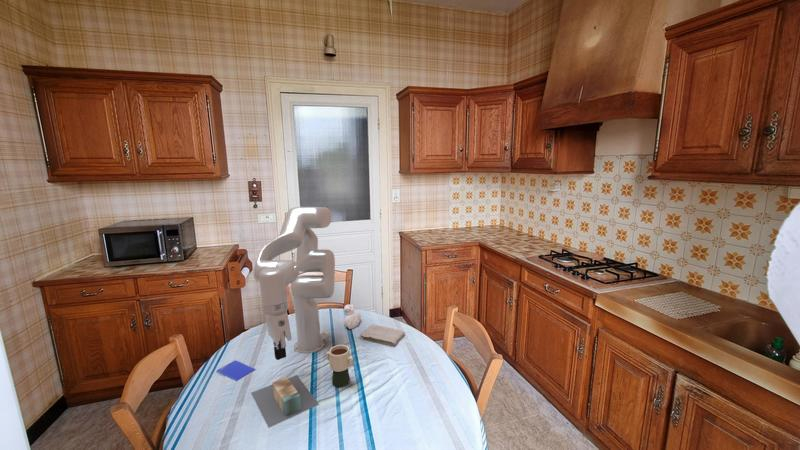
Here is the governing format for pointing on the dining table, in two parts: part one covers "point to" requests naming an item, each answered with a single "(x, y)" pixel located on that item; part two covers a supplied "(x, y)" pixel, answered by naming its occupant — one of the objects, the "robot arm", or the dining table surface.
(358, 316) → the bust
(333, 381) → the character mug
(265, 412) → the rubber mat
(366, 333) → the washcloth
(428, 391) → the dining table surface
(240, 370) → the hard drive
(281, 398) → the maple block
